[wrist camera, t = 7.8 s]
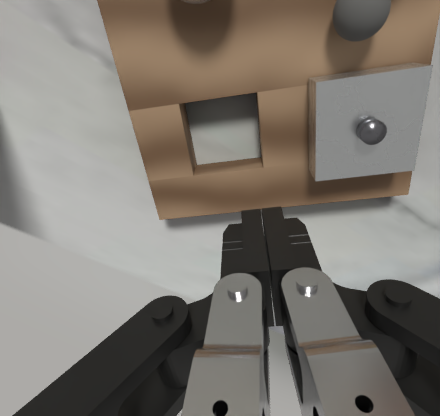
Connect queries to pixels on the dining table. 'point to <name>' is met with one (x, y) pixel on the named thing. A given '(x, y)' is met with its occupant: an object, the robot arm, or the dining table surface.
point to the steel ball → (195, 1)
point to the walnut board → (244, 84)
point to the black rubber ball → (360, 18)
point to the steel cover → (366, 121)
